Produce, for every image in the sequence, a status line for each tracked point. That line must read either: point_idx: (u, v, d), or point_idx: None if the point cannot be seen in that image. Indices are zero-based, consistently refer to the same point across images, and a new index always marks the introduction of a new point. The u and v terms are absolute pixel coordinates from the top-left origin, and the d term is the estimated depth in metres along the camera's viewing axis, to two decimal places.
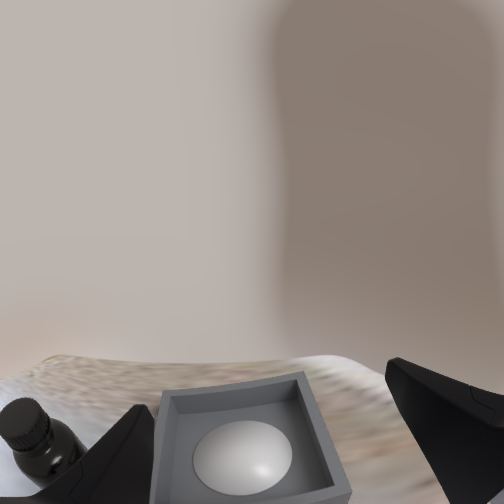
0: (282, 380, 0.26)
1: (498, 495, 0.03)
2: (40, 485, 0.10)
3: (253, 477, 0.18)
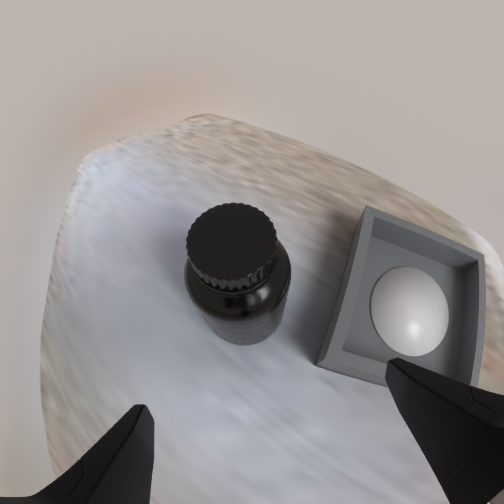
0: (469, 253, 0.22)
1: (498, 495, 0.03)
2: (218, 323, 0.17)
3: (414, 337, 0.21)
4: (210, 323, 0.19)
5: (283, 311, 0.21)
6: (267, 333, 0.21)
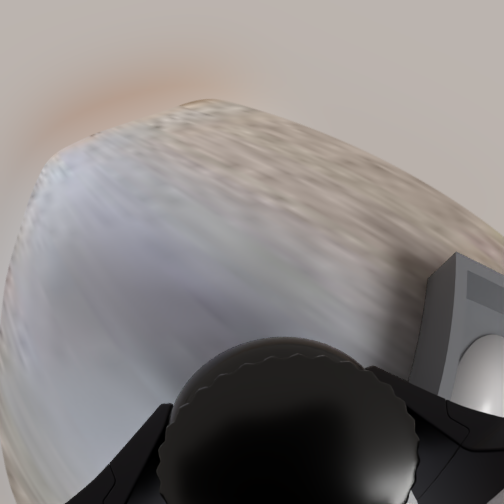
0: None
1: None
2: None
3: None
4: None
5: None
6: None
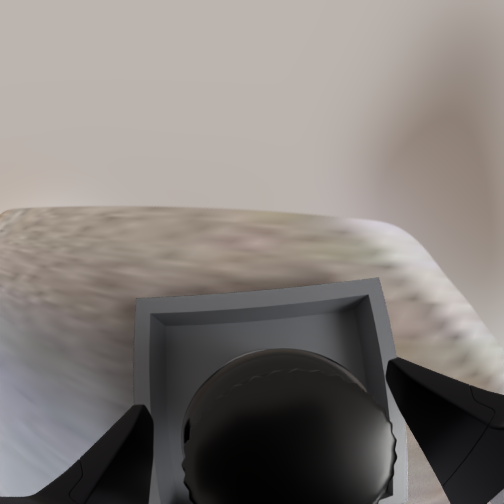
0: (346, 293, 0.16)
1: (498, 495, 0.03)
2: None
3: None
4: None
5: None
6: None
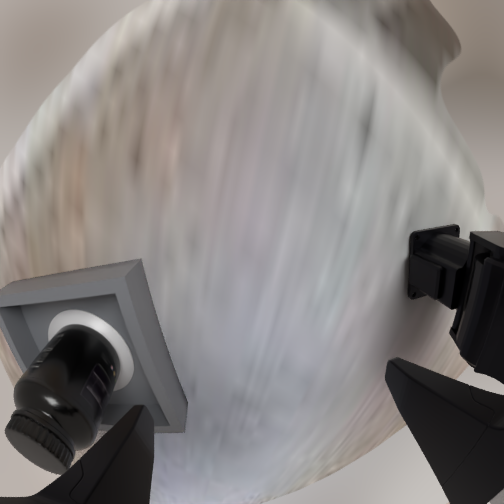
0: (2, 321, 0.16)
1: (498, 495, 0.03)
2: (99, 424, 0.14)
3: None
4: None
5: (74, 344, 0.17)
6: (99, 353, 0.18)
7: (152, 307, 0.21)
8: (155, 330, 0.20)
